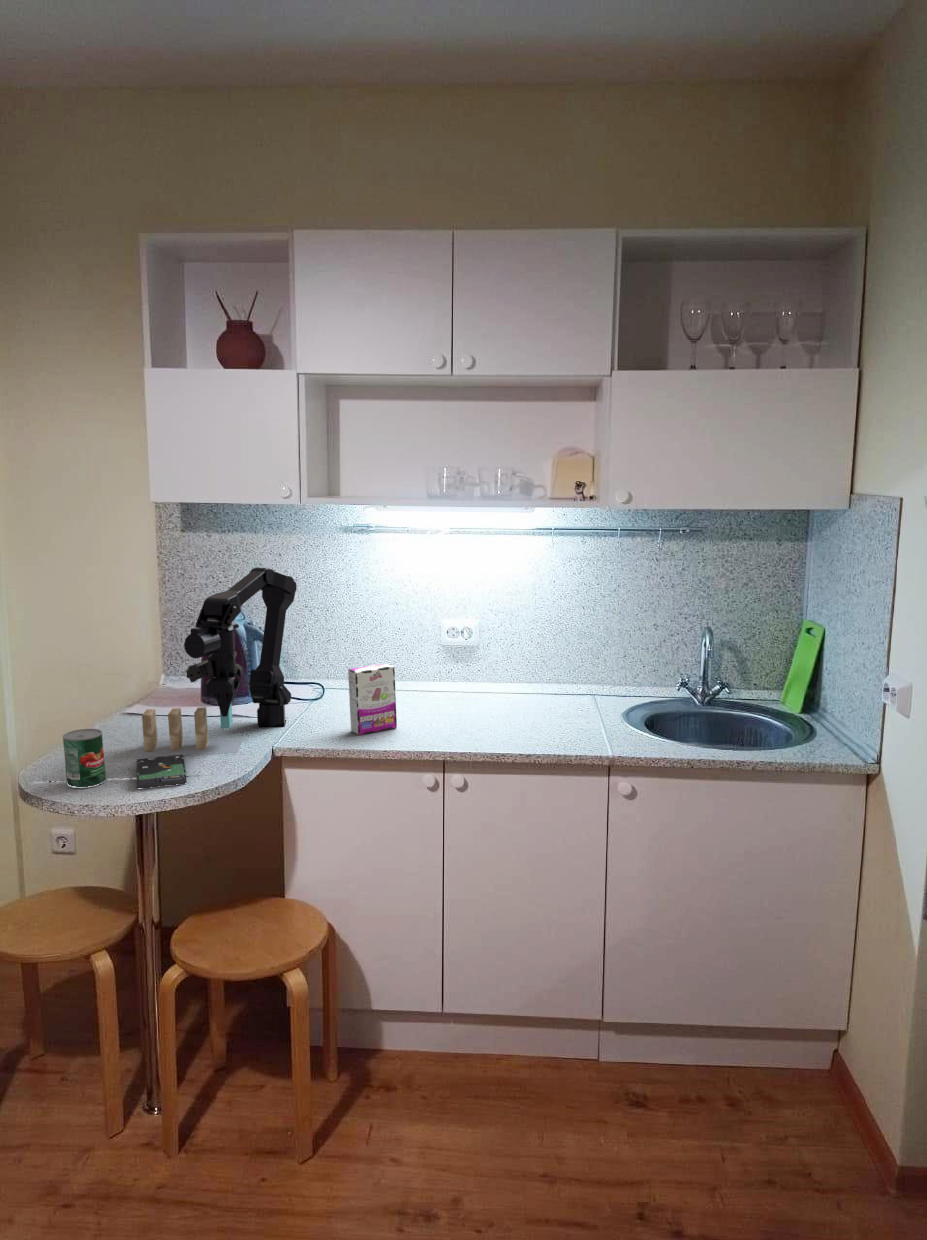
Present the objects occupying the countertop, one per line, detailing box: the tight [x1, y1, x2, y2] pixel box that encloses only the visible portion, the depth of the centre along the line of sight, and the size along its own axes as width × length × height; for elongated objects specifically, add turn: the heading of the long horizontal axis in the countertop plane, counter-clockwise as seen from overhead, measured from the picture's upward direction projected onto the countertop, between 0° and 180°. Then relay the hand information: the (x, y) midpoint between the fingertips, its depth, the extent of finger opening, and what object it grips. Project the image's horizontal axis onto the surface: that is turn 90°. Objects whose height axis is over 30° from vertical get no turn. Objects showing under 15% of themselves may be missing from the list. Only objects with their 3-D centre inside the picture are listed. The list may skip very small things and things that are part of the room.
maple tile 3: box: [167, 707, 184, 751], centre depth 223 cm, size 2×5×9 cm, turn 6°
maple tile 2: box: [193, 706, 209, 750], centre depth 224 cm, size 2×5×9 cm, turn 6°
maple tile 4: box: [141, 708, 159, 752], centre depth 223 cm, size 2×5×9 cm, turn 6°
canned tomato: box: [62, 728, 107, 787], centre depth 201 cm, size 8×8×11 cm
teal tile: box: [219, 702, 233, 730], centre depth 224 cm, size 2×5×9 cm, turn 6°
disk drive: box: [135, 755, 188, 789], centre depth 206 cm, size 10×3×15 cm
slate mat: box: [132, 737, 244, 758], centre depth 224 cm, size 24×12×1 cm, turn 96°
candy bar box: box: [347, 663, 398, 736], centre depth 237 cm, size 11×5×16 cm, turn 123°
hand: (226, 713), depth 224 cm, fingers closed on teal tile, 5 cm apart
